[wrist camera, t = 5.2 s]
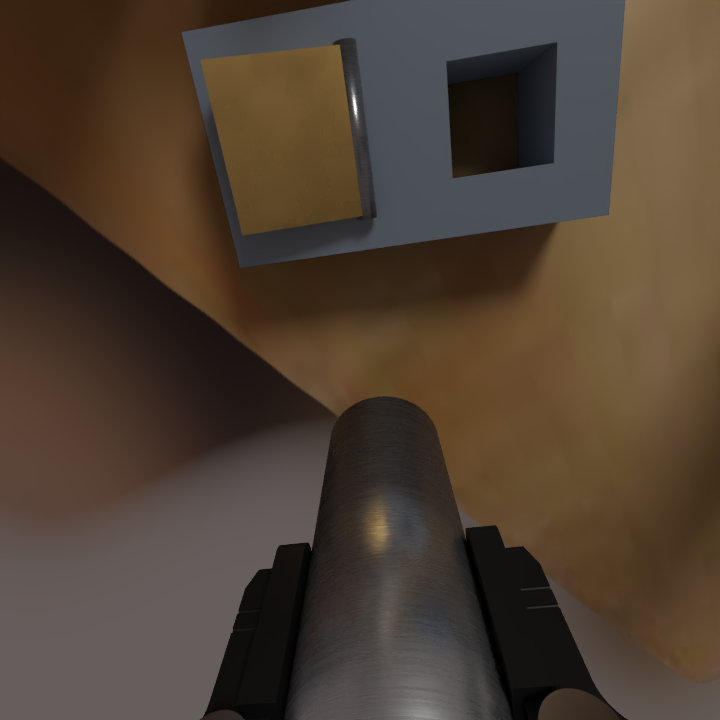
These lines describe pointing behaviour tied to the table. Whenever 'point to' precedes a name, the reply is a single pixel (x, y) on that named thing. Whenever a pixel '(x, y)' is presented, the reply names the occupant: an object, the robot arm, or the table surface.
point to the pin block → (446, 114)
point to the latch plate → (293, 135)
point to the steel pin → (392, 584)
